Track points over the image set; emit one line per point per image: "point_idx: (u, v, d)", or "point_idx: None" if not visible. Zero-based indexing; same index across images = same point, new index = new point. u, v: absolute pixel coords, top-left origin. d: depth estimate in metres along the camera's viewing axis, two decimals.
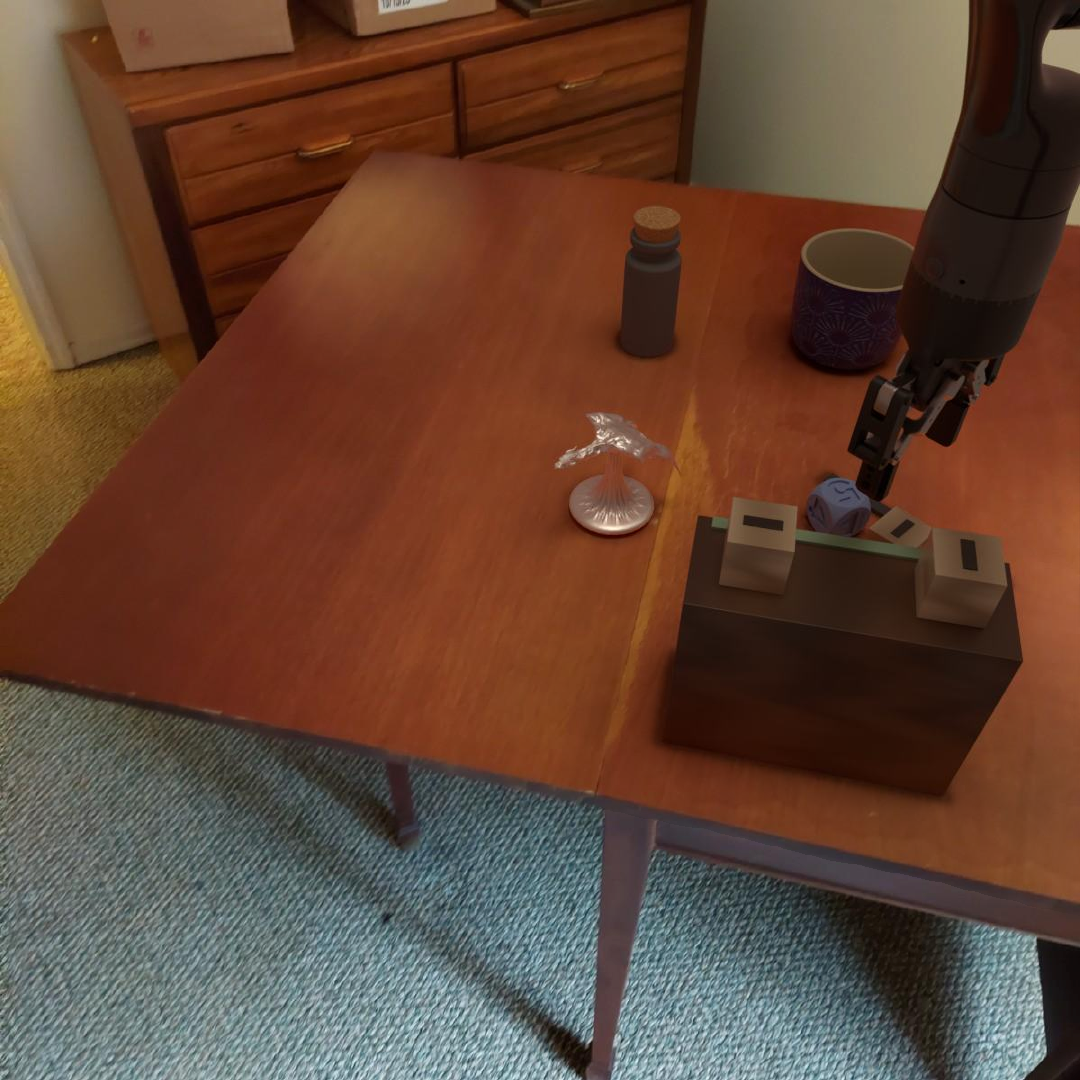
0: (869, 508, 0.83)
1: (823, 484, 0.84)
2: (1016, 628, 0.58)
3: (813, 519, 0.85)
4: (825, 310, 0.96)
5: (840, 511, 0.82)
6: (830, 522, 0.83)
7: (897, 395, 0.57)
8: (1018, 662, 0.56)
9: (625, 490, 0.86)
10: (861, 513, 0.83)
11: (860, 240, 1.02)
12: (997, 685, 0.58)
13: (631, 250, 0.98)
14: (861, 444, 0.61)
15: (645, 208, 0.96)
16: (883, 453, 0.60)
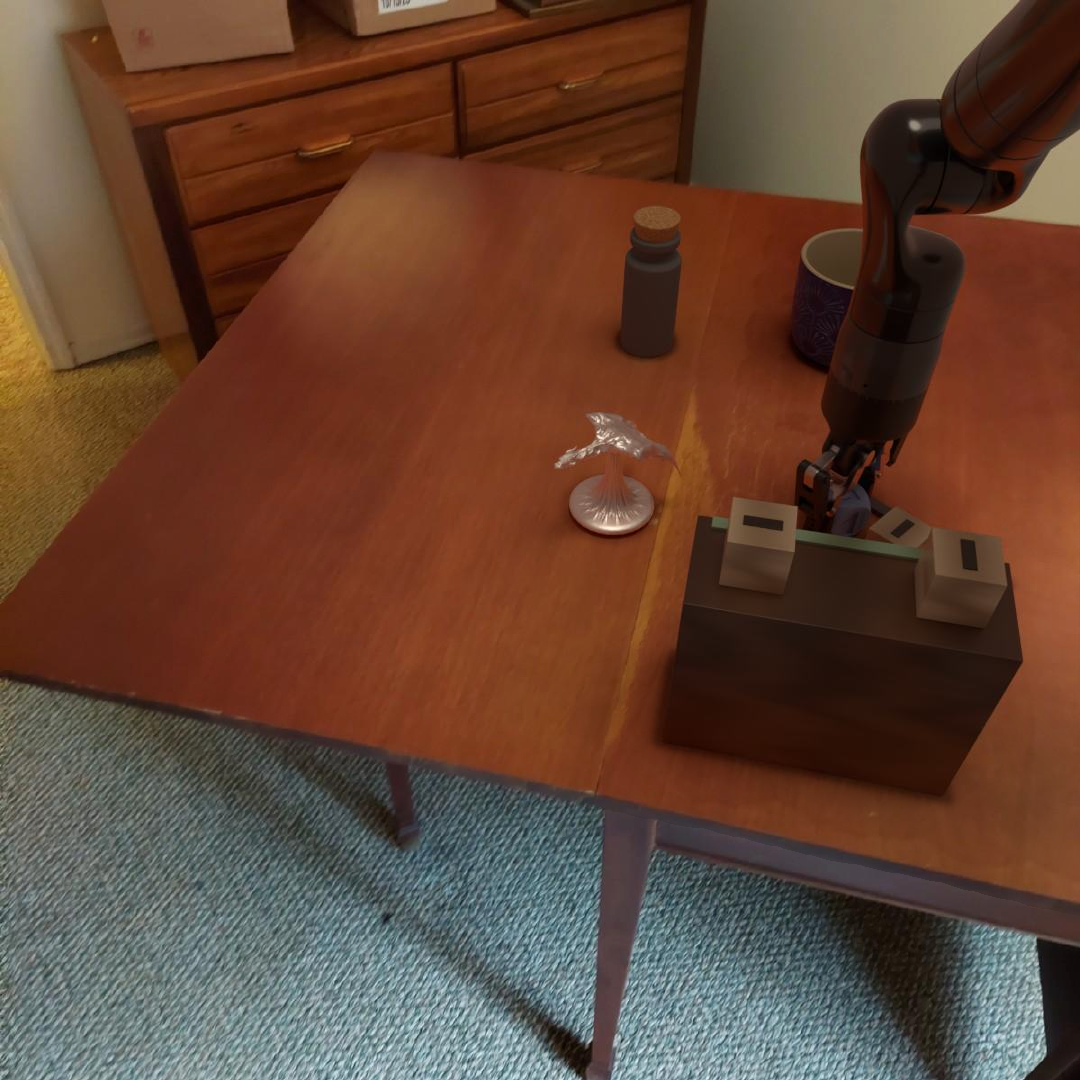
0: (869, 508, 0.83)
1: None
2: (1016, 628, 0.58)
3: None
4: (825, 310, 0.96)
5: (840, 511, 0.82)
6: None
7: (817, 478, 0.75)
8: (1018, 662, 0.56)
9: (625, 490, 0.86)
10: (861, 513, 0.83)
11: (860, 240, 1.02)
12: (997, 685, 0.58)
13: (631, 250, 0.98)
14: (804, 501, 0.80)
15: (645, 208, 0.96)
16: (818, 512, 0.78)
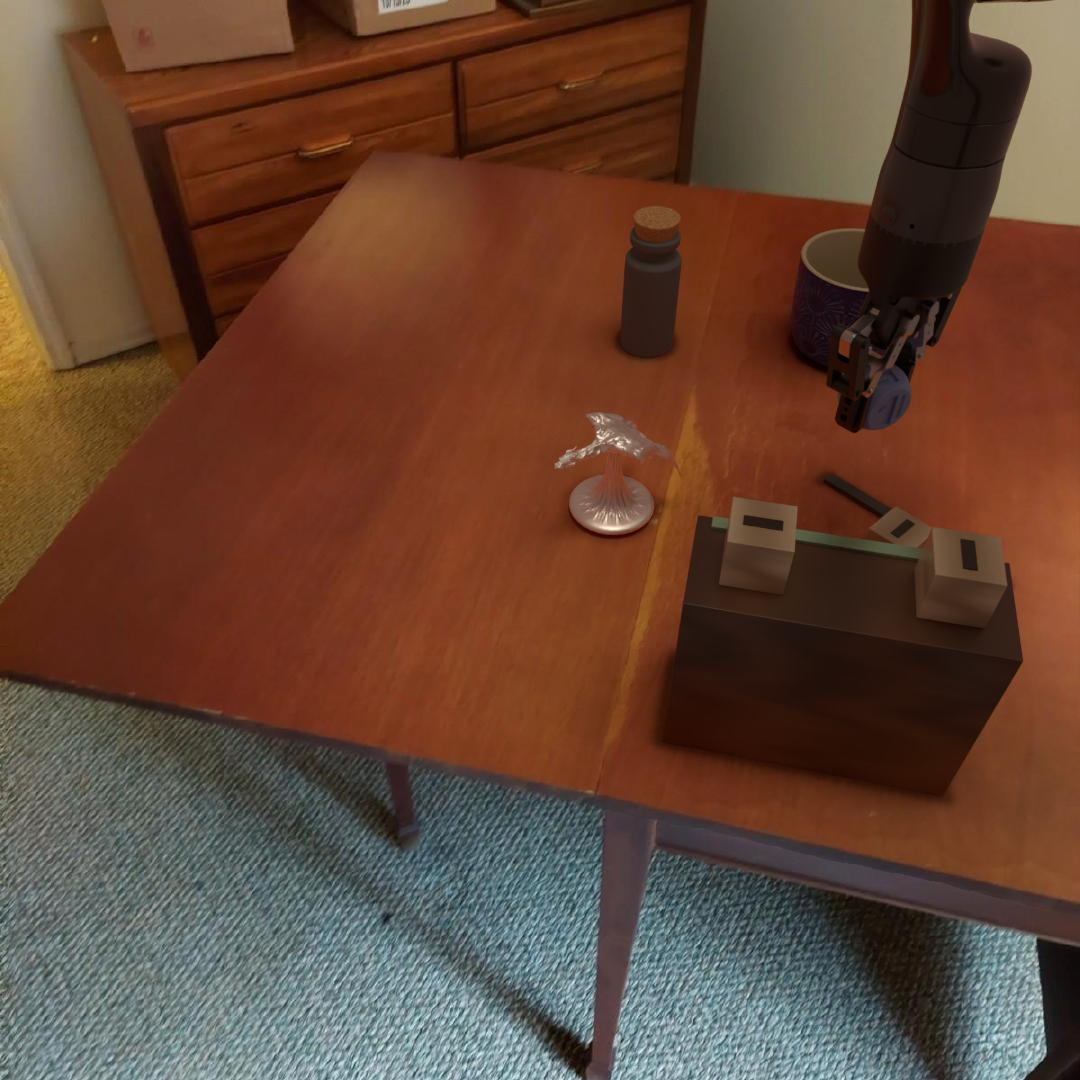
0: (909, 392, 0.74)
1: None
2: (1016, 628, 0.58)
3: None
4: (825, 310, 0.96)
5: (877, 394, 0.73)
6: None
7: (854, 342, 0.66)
8: (1018, 662, 0.56)
9: (625, 490, 0.86)
10: (901, 397, 0.74)
11: (860, 240, 1.02)
12: (997, 685, 0.58)
13: (631, 250, 0.98)
14: (838, 378, 0.70)
15: (645, 208, 0.96)
16: (854, 388, 0.69)
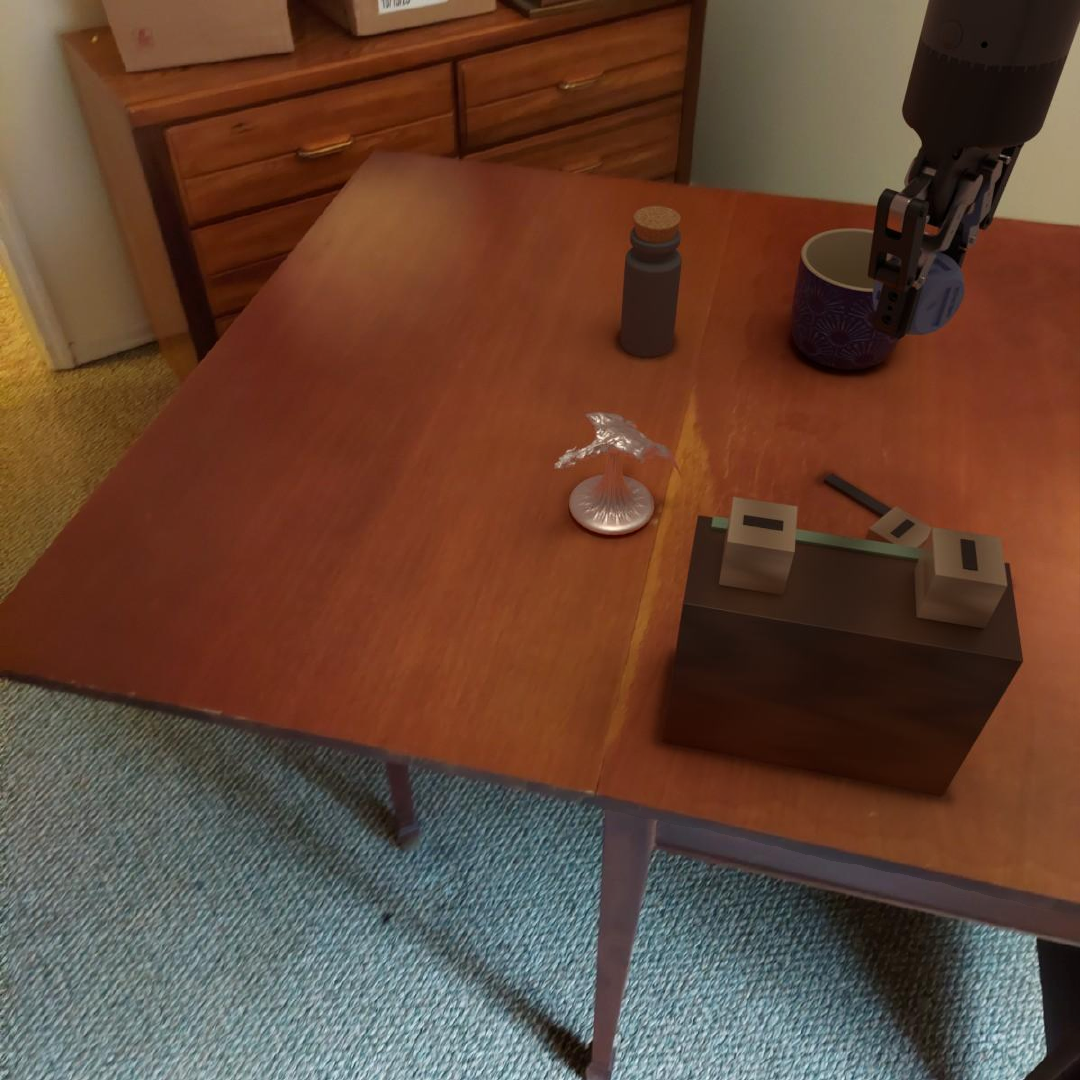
0: (963, 283, 0.60)
1: None
2: (1016, 628, 0.58)
3: None
4: (825, 310, 0.96)
5: (927, 285, 0.59)
6: None
7: (910, 208, 0.52)
8: (1018, 662, 0.56)
9: (625, 490, 0.86)
10: (953, 290, 0.60)
11: (860, 240, 1.02)
12: (997, 685, 0.58)
13: (631, 250, 0.98)
14: (883, 264, 0.56)
15: (645, 208, 0.96)
16: (906, 273, 0.55)
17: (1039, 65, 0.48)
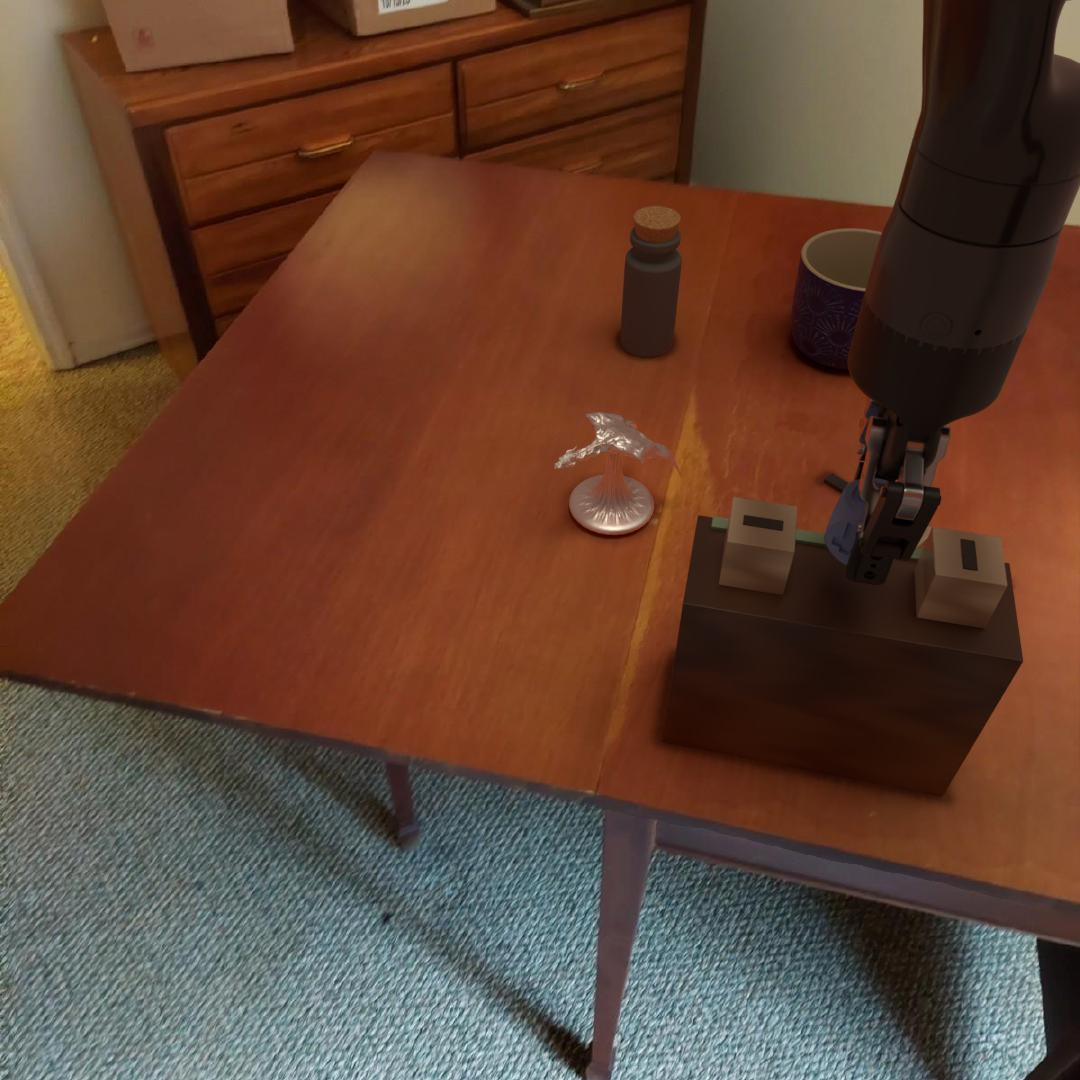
0: None
1: (846, 500, 0.55)
2: (1016, 628, 0.58)
3: (844, 554, 0.56)
4: (825, 310, 0.96)
5: None
6: None
7: (927, 502, 0.46)
8: (1018, 662, 0.56)
9: (625, 490, 0.86)
10: None
11: (860, 240, 1.02)
12: (997, 685, 0.58)
13: (631, 250, 0.98)
14: (878, 541, 0.50)
15: (645, 208, 0.96)
16: (913, 549, 0.49)
17: (1022, 333, 0.44)
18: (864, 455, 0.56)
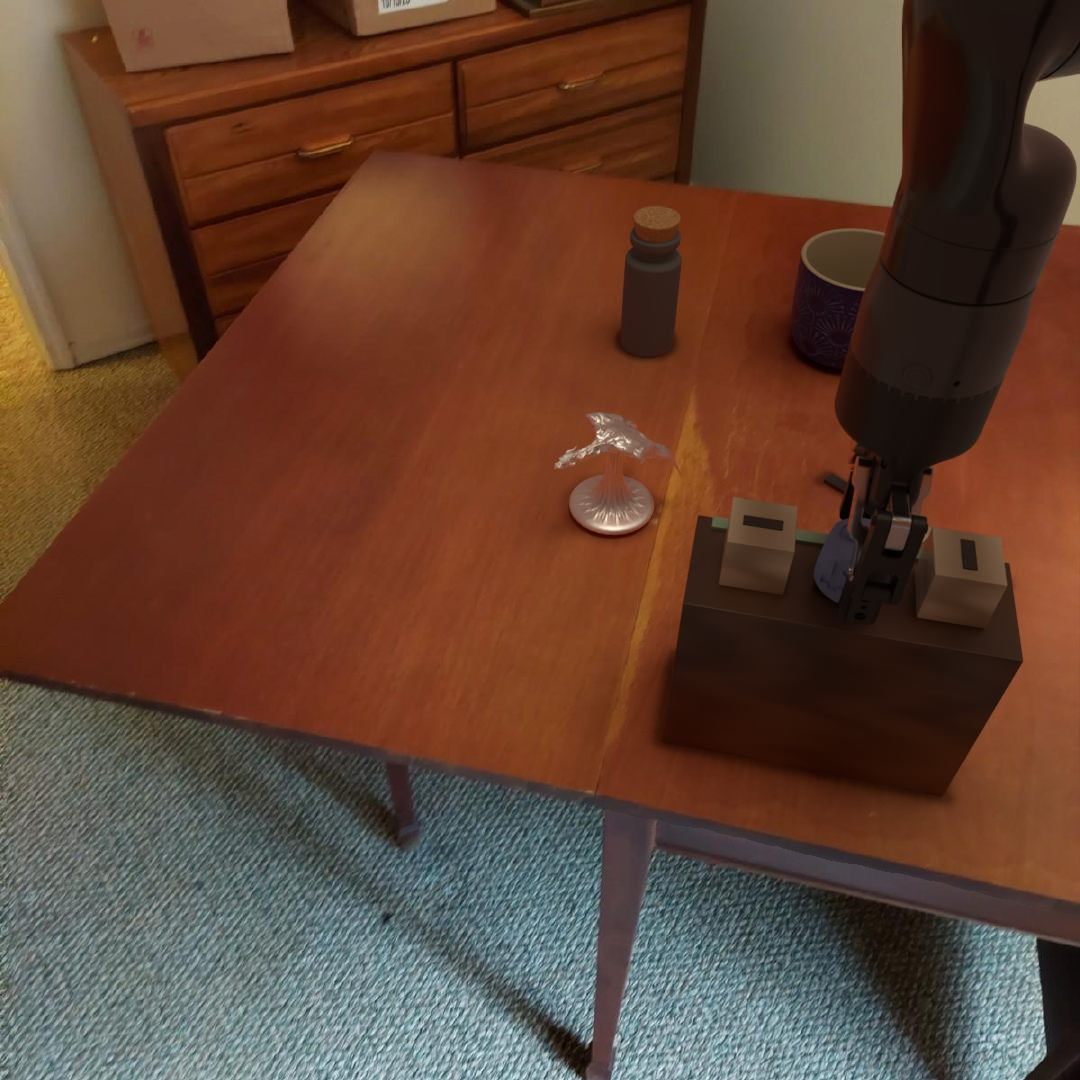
0: None
1: (833, 540, 0.57)
2: (1016, 628, 0.58)
3: (832, 590, 0.59)
4: (825, 310, 0.96)
5: None
6: None
7: (915, 527, 0.47)
8: (1018, 662, 0.56)
9: (625, 490, 0.86)
10: None
11: (860, 240, 1.02)
12: (997, 685, 0.58)
13: (631, 250, 0.98)
14: (867, 585, 0.51)
15: (645, 208, 0.96)
16: (903, 588, 0.50)
17: (1000, 383, 0.46)
18: None
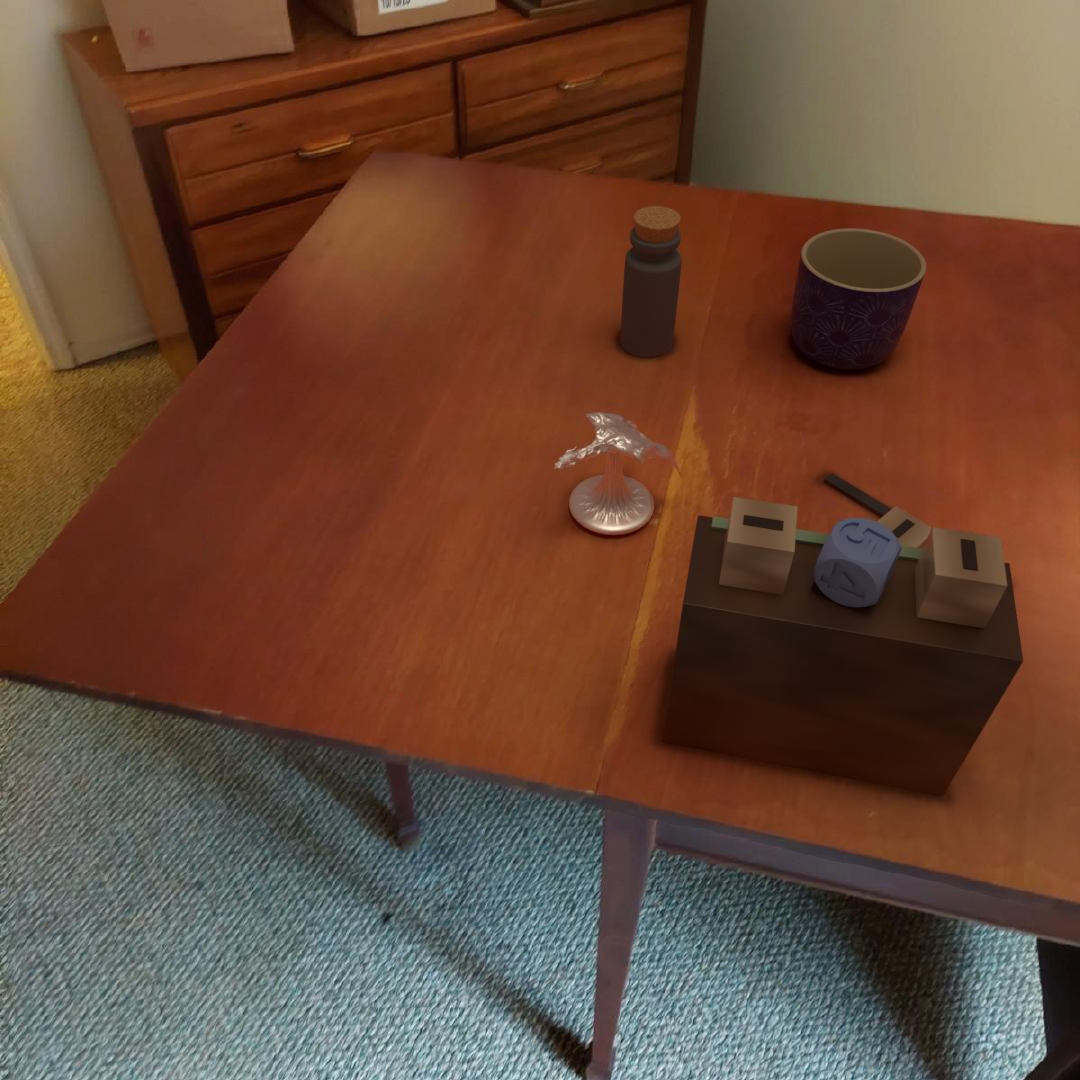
0: None
1: (833, 540, 0.57)
2: (1016, 628, 0.58)
3: (832, 590, 0.59)
4: (825, 310, 0.96)
5: (882, 569, 0.56)
6: (873, 588, 0.56)
7: None
8: (1018, 662, 0.56)
9: (625, 490, 0.86)
10: (896, 556, 0.58)
11: (860, 240, 1.02)
12: (997, 685, 0.58)
13: (631, 250, 0.98)
14: None
15: (645, 208, 0.96)
16: None
17: None
18: None
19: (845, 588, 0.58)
